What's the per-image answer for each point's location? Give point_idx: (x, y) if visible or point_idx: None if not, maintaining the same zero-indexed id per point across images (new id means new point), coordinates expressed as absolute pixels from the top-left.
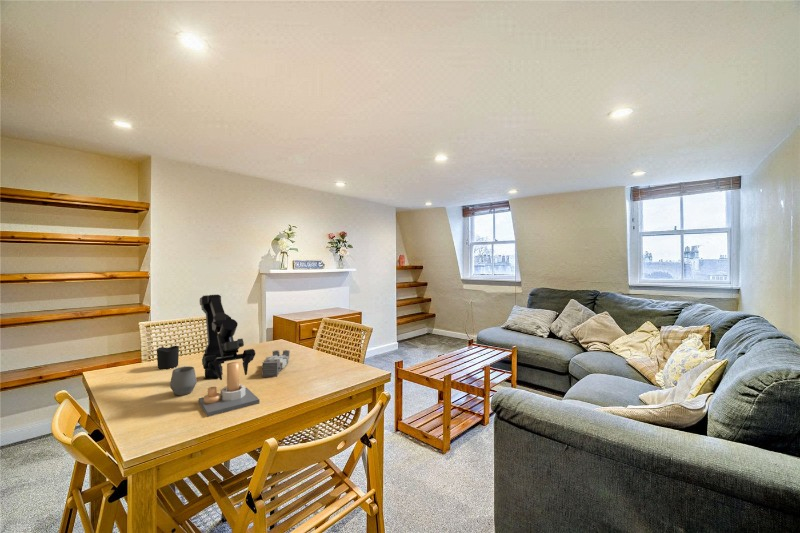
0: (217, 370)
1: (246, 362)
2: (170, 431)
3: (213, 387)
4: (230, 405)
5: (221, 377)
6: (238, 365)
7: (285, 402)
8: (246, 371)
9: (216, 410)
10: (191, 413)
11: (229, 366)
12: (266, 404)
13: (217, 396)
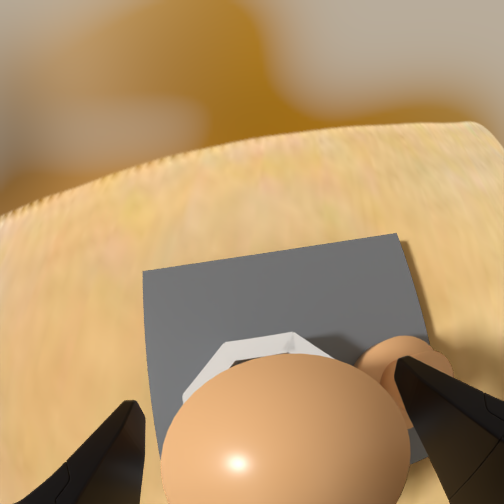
0: (486, 396)
1: (58, 496)
2: (469, 191)
3: None
4: (297, 265)
5: (408, 363)
6: (191, 402)
7: (67, 231)
8: (118, 415)
9: (362, 238)
10: (454, 313)
11: (367, 381)
12: (128, 248)
13: (375, 356)
